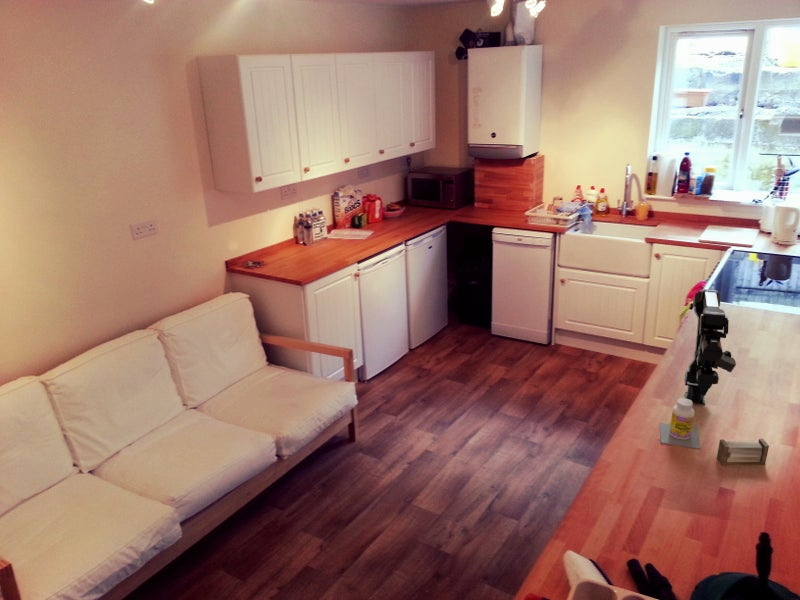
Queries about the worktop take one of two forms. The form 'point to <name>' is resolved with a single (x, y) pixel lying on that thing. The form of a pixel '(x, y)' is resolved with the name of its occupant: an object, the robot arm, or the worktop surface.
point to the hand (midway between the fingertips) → (702, 388)
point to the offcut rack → (742, 452)
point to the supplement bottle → (682, 419)
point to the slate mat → (670, 440)
